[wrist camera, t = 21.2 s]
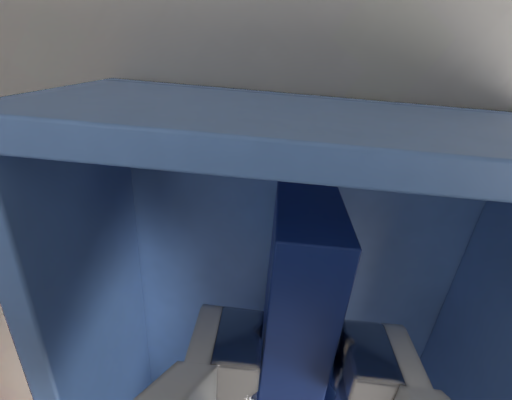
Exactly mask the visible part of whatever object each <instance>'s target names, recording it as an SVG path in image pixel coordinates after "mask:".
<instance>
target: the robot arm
mask: <svg viewBox="0 0 512 400" xmlns="http://www.w3.org/2000/svg"><path fill="white" fill-rule="evenodd" d="M263 318H264V311H258V310H250V309H243V308H235V307H227V306H224V307H223V306H216V305H208V304H203V305H202V307H201V308H200V311H199V314H198V318H197V321H196V324H195V327H194V331H193V334H192V337H191V340H190V344H189V347H188V350H187V353H186V356H185V360H184V361H177V362H176V363H174V364H173V365H172V366H171V367H170V368H169V369H167V370H166V371H165V372H164V373H163V374H162V375H161V376H159V377H158V378H157V379H156V380H155V381H154V382H153V383H151V384H150V385H149V386H148V387H147V388H146V389H144V390H143V391H142V392H141V393H140V394H139V395H138V396H136V397H135V398H134V399H133V400H257V391H258V385H259V375H260V364H261V350H262V331H263ZM329 379H330V386H331V387H332V388H333V389H334V391H335V392H336V395H335V399H334V400H452V399H450V398H449V397H448V396H447V395H446V394H445V393H444V392H443V391H442V390H437V389H434V388H433V386H432V384H431V382H430V380H429V377H428V375H427V373H426V371H425V369H424V367H423V364H422V362H421V360H420V358H419V356H418V354H417V351H416V349H415V347H414V345H413V343H412V341H411V338H410V336H409V334H408V332H407V330H406V328H405V327H404V326H403V325H400V324H389V323H377V322H366V321H356V320H344V324H343V328H342V332H341V336H340V339H339V343H338V347H337V351H336V355H335V359H334V363H333V367H332V371H331V375H330V378H329Z"/></svg>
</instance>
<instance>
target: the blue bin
mask: <svg viewBox="0 0 512 400" xmlns="http://www.w3.org/2000/svg"><path fill="white" fill-rule="evenodd" d="M278 181H281V182H292V183H303V184H314V185H324V186H335V187H338V188H339V191H340V193H341V196H342V199H343V201H344V204H345V207H346V209H347V212H348V214H349V217H350V220H351V222H352V225H353V228H354V230H355V233H356V235H357V238H358V241H359V243H360V246H361V249H362V254H361V257H360V261H359V265H358V269H357V273H356V277H355V281H354V285H353V289H352V293H351V296H350V300H349V304H348V308H347V312H346V316H345V320H356V321H366V322H377V323H389V324H400V325H403V326H404V327H405V328H406V330H407V332H408V334H409V336H410V338H411V341H412V343H413V345H414V347H415V349H416V351H417V354H418V356H419V358H420V360H421V362H422V364H423V367H424V369H425V371H426V373H427V375H428V377H429V380H430V382H431V384H432V386H433V388H434V389H437V390H442V391H443V392H444V393H445V394H446V395H447V396H448V397H449V398H450V399H452V400H512V112H506V111H494V110H482V109H470V108H459V107H447V106H435V105H423V104H411V103H399V102H388V101H376V100H364V99H352V98H340V97H329V96H317V95H305V94H293V93H281V92H269V91H258V90H246V89H234V88H222V87H210V86H199V85H187V84H175V83H163V82H151V81H140V80H128V79H116V78H109V79H104V80H97V81H91V82H85V83H80V84H74V85H68V86H62V87H56V88H50V89H45V90H39V91H33V92H27V93H21V94H16V95H10V96H4V97H0V304H1V307H2V310H3V313H4V316H5V319H6V322H7V325H8V328H9V330H10V333H11V336H12V339H13V342H14V345H15V348H16V351H17V354H18V357H19V360H20V363H21V365H22V368H23V371H24V374H25V377H26V380H27V383H28V386H29V389H30V392H31V395H32V397H33V400H133V399H134V398H135V397H136V396H138V395H139V394H140V393H141V392H142V391H143V390H144V389H146V388H147V387H148V386H149V385H150V384H151V383H153V382H154V381H155V380H156V379H157V378H158V377H159V376H161V375H162V374H163V373H164V372H165V371H166V370H167V369H169V368H170V367H171V366H172V365H173V364H174V363H176V362H177V361H184V360H185V356H186V353H187V350H188V347H189V344H190V340H191V337H192V334H193V331H194V327H195V324H196V321H197V318H198V314H199V311H200V308H201V307H202V305H203V304H208V305H216V306H223V307H224V306H227V307H235V308H243V309H250V310H258V311H264V305H265V295H266V286H267V276H268V267H269V257H270V248H271V238H272V229H273V219H274V210H275V200H276V191H277V182H278ZM335 395H336V392H335Z"/></svg>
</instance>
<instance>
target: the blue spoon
mask: <svg viewBox="0 0 512 400" xmlns="http://www.w3.org/2000/svg"><path fill="white" fill-rule="evenodd" d="M361 254H362V249H361V246H360V243H359V241H358V238H357V235H356V233H355V230H354V228H353V225H352V222H351V220H350V217H349V214H348V212H347V209H346V207H345V204H344V201H343V199H342V196H341V193H340V191H339V188H338V187H335V186H324V185H314V184H303V183H292V182H281V181H278V182H277V191H276V200H275V210H274V219H273V229H272V238H271V248H270V257H269V267H268V276H267V286H266V295H265V305H264V318H263V331H262V350H261V364H260V375H259V385H258V391H257V400H334V399H335V391H334V389H333V388H332V387H331V386H330V379H329V378H330V375H331V371H332V367H333V363H334V359H335V355H336V351H337V347H338V343H339V339H340V336H341V332H342V328H343V324H344V320H345V316H346V312H347V308H348V304H349V300H350V296H351V293H352V289H353V285H354V281H355V277H356V273H357V269H358V265H359V261H360V257H361Z"/></svg>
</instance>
